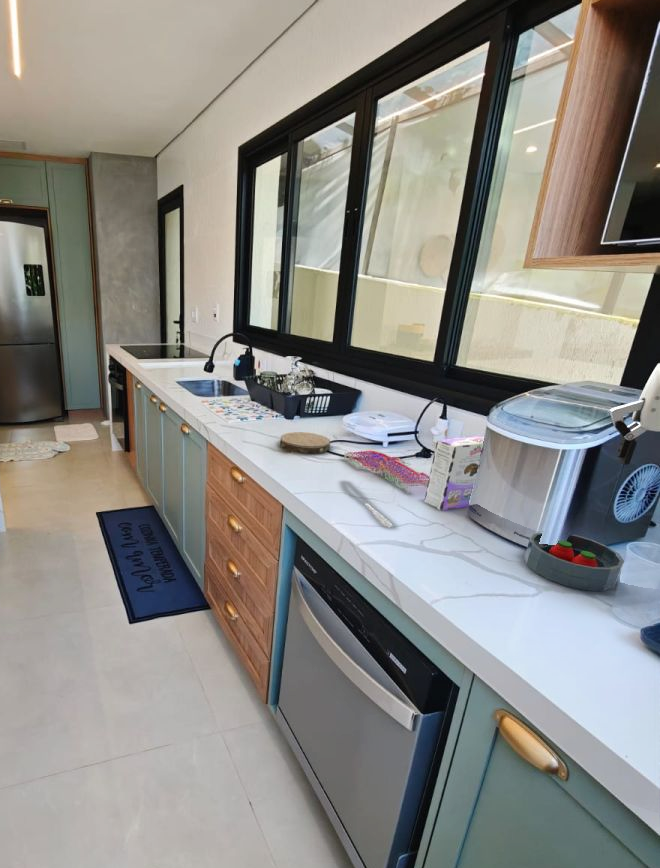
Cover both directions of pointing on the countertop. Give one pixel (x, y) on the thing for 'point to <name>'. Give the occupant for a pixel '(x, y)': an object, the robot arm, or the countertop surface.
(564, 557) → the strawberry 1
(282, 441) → the wooden disc
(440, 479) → the candy box
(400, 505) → the countertop surface
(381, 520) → the butter knife
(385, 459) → the speckled fish figure
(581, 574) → the bowl
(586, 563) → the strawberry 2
